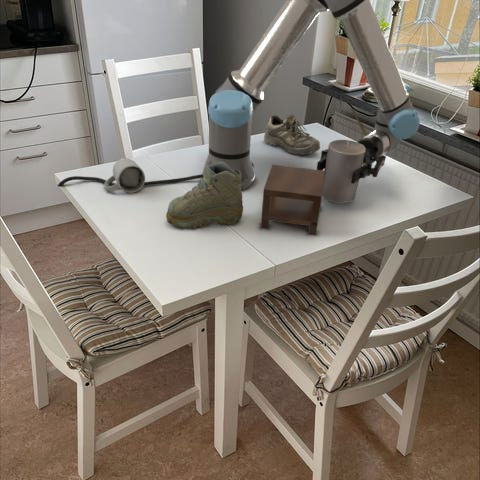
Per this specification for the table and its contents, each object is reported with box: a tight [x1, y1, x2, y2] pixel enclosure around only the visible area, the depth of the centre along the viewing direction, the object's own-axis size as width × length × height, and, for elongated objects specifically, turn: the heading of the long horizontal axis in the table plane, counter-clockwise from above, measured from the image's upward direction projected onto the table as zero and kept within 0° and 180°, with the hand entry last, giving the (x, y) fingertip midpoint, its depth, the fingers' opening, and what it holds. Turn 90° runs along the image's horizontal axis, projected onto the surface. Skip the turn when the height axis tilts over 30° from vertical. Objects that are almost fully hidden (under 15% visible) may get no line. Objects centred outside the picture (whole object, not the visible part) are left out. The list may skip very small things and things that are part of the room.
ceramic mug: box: [103, 157, 146, 194], centre depth 140 cm, size 11×8×8 cm
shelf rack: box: [260, 164, 326, 236], centre depth 130 cm, size 14×15×11 cm
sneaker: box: [165, 162, 244, 229], centre depth 125 cm, size 11×19×15 cm, turn 88°
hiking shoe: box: [263, 114, 321, 155], centre depth 168 cm, size 9×21×12 cm, turn 51°
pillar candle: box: [322, 139, 366, 204], centre depth 135 cm, size 10×10×15 cm
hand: (335, 172), depth 132 cm, fingers closed on pillar candle, 10 cm apart
